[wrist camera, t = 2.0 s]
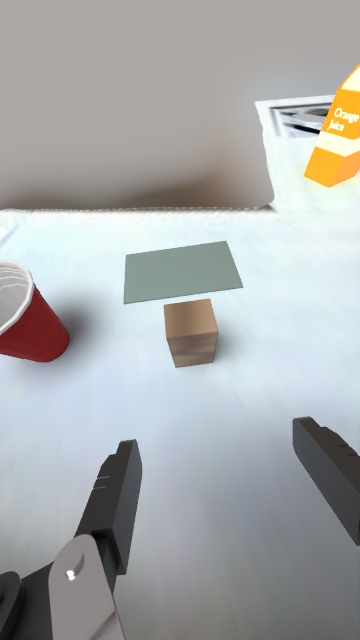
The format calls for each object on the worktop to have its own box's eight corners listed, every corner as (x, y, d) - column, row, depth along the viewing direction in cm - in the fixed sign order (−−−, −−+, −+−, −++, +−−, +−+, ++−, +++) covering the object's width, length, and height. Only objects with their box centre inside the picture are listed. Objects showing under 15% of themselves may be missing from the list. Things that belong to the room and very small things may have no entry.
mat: (225, 241, 39) (226, 240, 39) (242, 287, 33) (243, 286, 33) (126, 255, 39) (125, 255, 39) (123, 304, 33) (123, 303, 33)
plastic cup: (9, 393, 27) (-109, 364, 16) (17, 328, 32) (-67, 276, 22) (89, 365, 28) (25, 322, 17) (83, 307, 33) (32, 248, 23)
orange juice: (355, 176, 48) (441, 29, 31) (329, 188, 46) (405, 39, 29) (327, 165, 52) (390, 29, 35) (302, 175, 50) (356, 38, 33)
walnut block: (206, 336, 29) (210, 298, 21) (212, 362, 27) (218, 331, 19) (172, 341, 29) (163, 305, 21) (175, 367, 27) (166, 338, 19)
